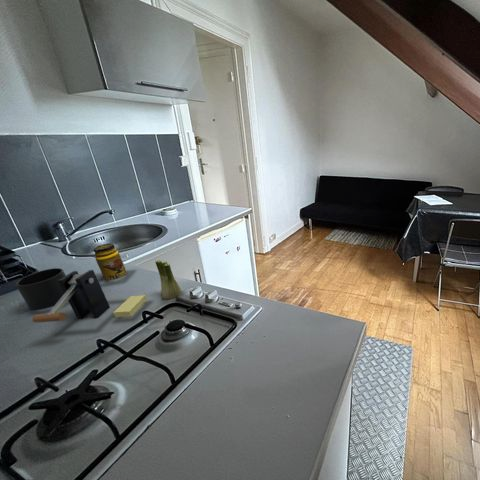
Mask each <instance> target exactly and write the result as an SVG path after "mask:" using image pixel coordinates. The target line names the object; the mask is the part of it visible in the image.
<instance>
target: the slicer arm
mask: <svg viewBox="0 0 480 480" xmlns="http://www.w3.org/2000/svg"><path fill="white" fill-rule="evenodd" d="M83 274H84V273H78V274H75V275H74V276H73V277H72V278H71V280H70V281H69V282H68V284H69V285H70V288H69V289H68V290H67V291H66V292H65V294H64V295H63V296H62V297H61V298H60V300H59V301H58V302H57V303H56V304H55V306H52V307H51V308H50V310H49V311H48V312H47V313H39V314H35V315H33V316H32V322H33V323H37V324H38V323H47V322H48V323H49V322H62V321H64V320H65V319H66V318H67V313H65V312H61V310H62V309H63V308H64V306H65V305H66V304H67V303H68V302H69V301H68V300H69V299H70V298H71V296H72V295H73V294H74V293H75V291H76V290H77V289H79V287H78V285H77V283H76V281H75V279H76V278H78V277H80V276H81V275H83Z"/></svg>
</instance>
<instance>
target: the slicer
mask: <svg viewBox="0 0 480 480" xmlns="http://www.w3.org/2000/svg"><path fill="white" fill-rule="evenodd" d="M75 274H79V272H78V271H77V270H73V271H71V272H69V273H68V274H65V275H66V276H64V277H63V278H61V279H59V280H58V282H59V284H60V286H61V288H62V290H63V292H64V294H65V292H66V291H67V290H68V289H69V288H70V285H69V284H68V282H69V281H70V280H71V278H72V277H73V276H74V275H75ZM82 274H83V275H81V276H80V277H78V278H76V279H75V281H76V283H77V285H78V287H79V289H77V290H76V291H75V293H74V294H73V295H72V296H71V298H70V299H69V300H68V301H67V302H68V303H69V305H70V307H71V309H72V311H73V313H74V315H75V317H76V319H77V320H83V319H85V317H86V316H88V315H89V314H90V313H91V316H92V317H93V319H99V318H100V317H101V316H103V314H105V312H107V311H108V310H109V309H110V308H111V306H110V303H109V301H108V299H107V297H106V295H105V292H104V291H103V288H102V286H101V284H100V281H99V280H98V277H97V275H96V273H95V270H94V269H90V270H89V269H88V270H87V271H86V272H84V273H82Z"/></svg>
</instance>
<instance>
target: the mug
mask: <svg viewBox="0 0 480 480" xmlns="http://www.w3.org/2000/svg"><path fill="white" fill-rule="evenodd" d="M66 275H67V274H65V271H64V270H63V268H60V267H55V268H47V269H44V270H39V271H36V272H33V273H30V274H27V275H26V276H23V277H22V278H20V279H19V280H17V281H15V287H16V288H17V290H18V292H19V294H20V296H21V297H22V299H23V300H24V302H25V303H26V306H27V307H28V309H29V310H32V311H40V310H44V309H49V308H53V307H54V306H55V304H56V303H57V302H58V301H59V300H60V298H61V297H62V296H63V295H64V292H63V290H62V288H61V286H60V284H59V282H58V280H59V279H61V278H63V277H64V276H66Z"/></svg>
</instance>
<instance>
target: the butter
mask: <svg viewBox="0 0 480 480" xmlns="http://www.w3.org/2000/svg"><path fill="white" fill-rule="evenodd" d="M147 301H148V298H147V296H146V295H145V294H142V295H141V294H140V295H130V296H129V297H128V298H127V299H126V300H125V301H124V302H122V304H120V305H119V306H118V307H117V308H116V309H115V310H114V311H112V313H113V315H114V317H115V318H129V317H132V316H134V314H135V313H137V311H138V310H139V309H140V308H141V307H142V306H143V305H144V304H145V303H146V302H147Z"/></svg>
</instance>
